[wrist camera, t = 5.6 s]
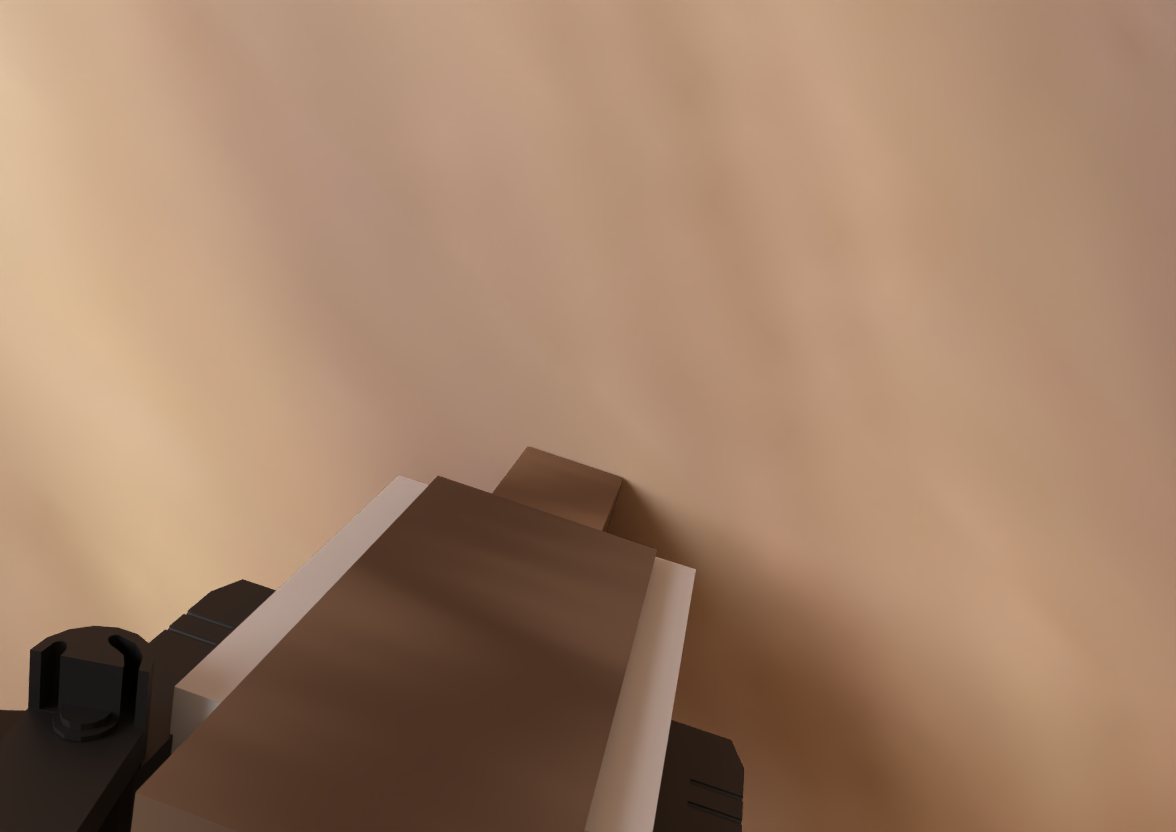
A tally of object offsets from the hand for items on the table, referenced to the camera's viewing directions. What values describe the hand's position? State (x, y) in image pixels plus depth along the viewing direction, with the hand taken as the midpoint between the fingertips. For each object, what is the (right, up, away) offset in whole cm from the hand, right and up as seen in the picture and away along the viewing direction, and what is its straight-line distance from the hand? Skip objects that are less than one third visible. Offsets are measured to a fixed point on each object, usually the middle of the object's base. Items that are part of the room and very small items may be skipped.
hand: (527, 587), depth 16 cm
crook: (-6, -8, +6) cm, 12 cm away
